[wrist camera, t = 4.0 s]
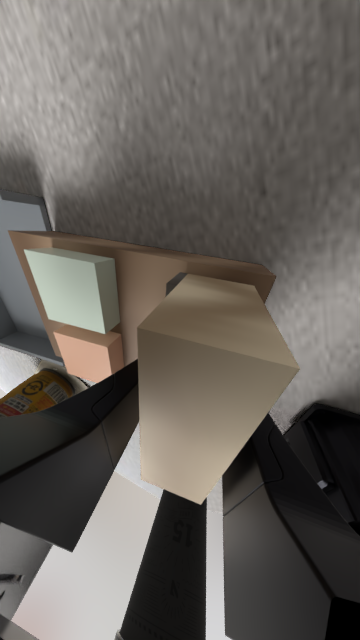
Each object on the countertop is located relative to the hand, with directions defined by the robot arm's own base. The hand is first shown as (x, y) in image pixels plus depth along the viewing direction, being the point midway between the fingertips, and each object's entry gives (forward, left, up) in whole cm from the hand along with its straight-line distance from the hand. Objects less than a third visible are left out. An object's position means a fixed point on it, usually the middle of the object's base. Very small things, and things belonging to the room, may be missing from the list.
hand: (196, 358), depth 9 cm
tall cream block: (0, 0, 0) cm, 1 cm away
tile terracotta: (+8, +3, -1) cm, 8 cm away
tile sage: (+7, -2, -1) cm, 8 cm away
